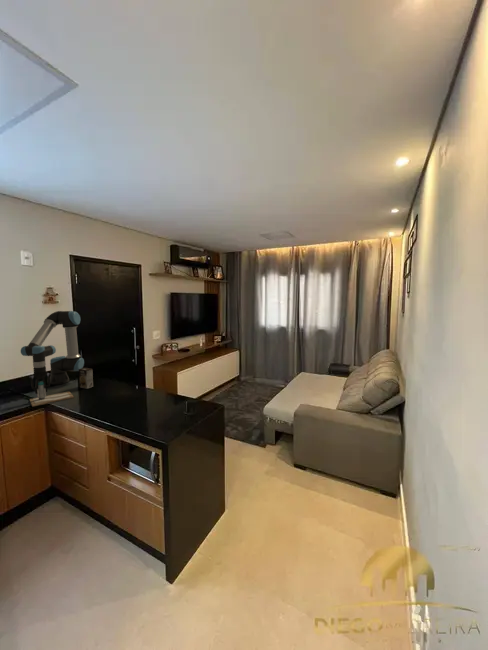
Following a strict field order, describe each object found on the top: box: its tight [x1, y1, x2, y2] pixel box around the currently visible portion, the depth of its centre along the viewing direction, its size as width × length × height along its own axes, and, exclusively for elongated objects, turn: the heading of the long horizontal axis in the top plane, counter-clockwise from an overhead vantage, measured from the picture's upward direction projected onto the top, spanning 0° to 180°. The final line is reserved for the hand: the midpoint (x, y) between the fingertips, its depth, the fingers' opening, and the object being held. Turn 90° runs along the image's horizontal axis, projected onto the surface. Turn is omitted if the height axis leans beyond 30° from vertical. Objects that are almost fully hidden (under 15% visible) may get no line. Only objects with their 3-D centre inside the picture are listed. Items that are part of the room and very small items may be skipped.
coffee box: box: [78, 367, 94, 390], centre depth 245 cm, size 9×6×16 cm
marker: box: [37, 380, 45, 400], centre depth 214 cm, size 4×4×13 cm
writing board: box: [29, 391, 75, 408], centre depth 218 cm, size 16×26×1 cm, turn 132°
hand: (41, 397), depth 214 cm, fingers closed on marker, 3 cm apart
